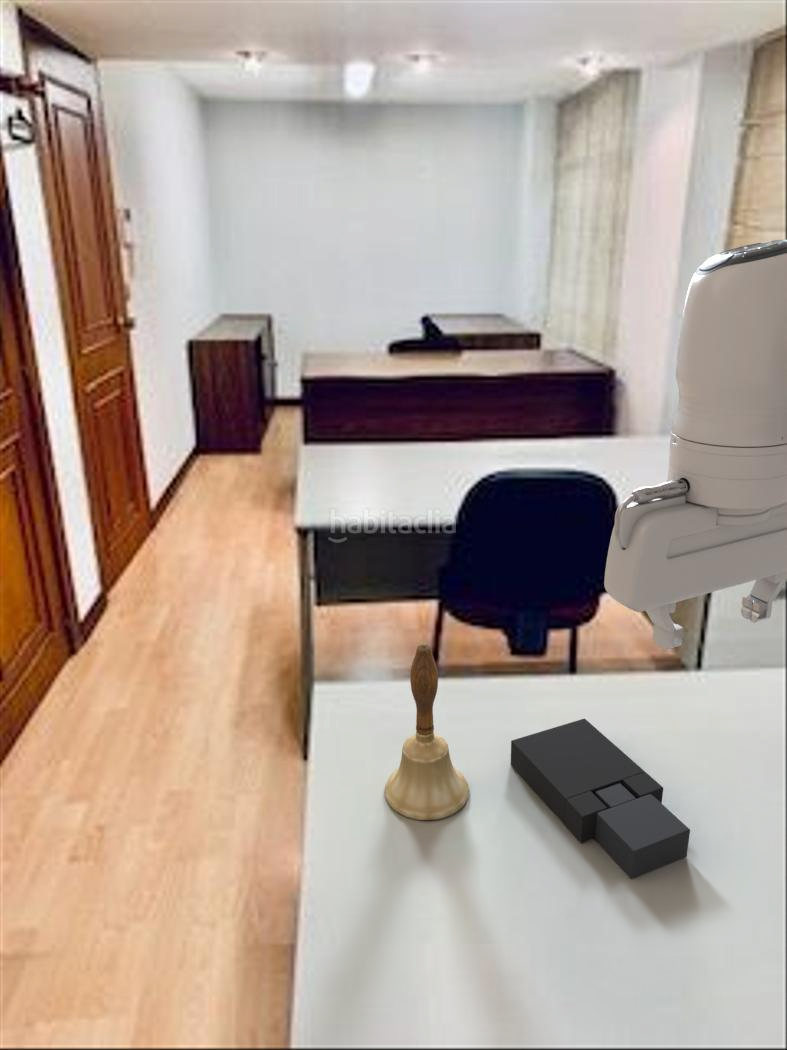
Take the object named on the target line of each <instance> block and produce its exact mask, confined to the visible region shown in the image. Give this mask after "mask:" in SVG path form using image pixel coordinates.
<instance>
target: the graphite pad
mask: <svg viewBox="0 0 787 1050" xmlns="http://www.w3.org/2000/svg"><path fill="white" fill-rule="evenodd" d="M595 796H596V797H597V798H598V799H599V800H600V801H601V802H602V803H603V804H604V805H605V806H606V807H607V810H604V811H601V812H598V813H597V816H596V829H595V838H594V841H595V842H596V843H597V844H598V845H599V846H600V847H601V849H602V850H604V852H605V853H606V854H607V855H608V856H609V857H610V858H611V859H612V860H613V861H614V862H615V863H616V865H618V867H619V868H620V869H621V870H622V871H623V872H624V873H625V874H626V875H627V876H628V877H629V879H631V880H632V879H634V878H637V877H640V876H642V875H644V874H648V873H650V872H652V871H654V870H657V869H660V868H663V867H665V866H668V865H670V864H672V863H675V862H678V861H679V860H682V859H685V858H687V856H688V849H689V843H690V836H691V835H690V834H691V829H690V828H689V827H688V826H687V825H686V824H684V823H683V821H681V819H679V818H678V817H677V816H676V815H675V814H674V813H673V812H672V811H670V810H669V809H668V808H667V807H666V806H665V805H664V804H663V803H662V804H661V803H660V802H659V801H658V800H657V799H656V798H655V797H654V796H653V795H651V794H649V795H646V796H643V797H640V798H638V799H636V798H635V797H634V796H633V795H632V794H631V793H630V792H629V791H628V790H627V789H626V788H624V787H623V786H622V785H621V784H617V785H614V786H611V787H608V788H605V789H602V790H599V791H597V792H596V793H595Z"/></svg>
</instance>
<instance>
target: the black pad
mask: <svg viewBox="0 0 787 1050" xmlns="http://www.w3.org/2000/svg"><path fill="white" fill-rule="evenodd" d="M510 766H511V767H512V768H513V770H514V771H516V773H517V774H518V775H519V776H520V777H521V778H522V779H523V781H524V782H525V783H526V784H527V785H528V786H529V787H530V788H531V790H532V791H533V792H534V793H535V794H536V795H537V796H538V798H540V800H541V801H542V802H543V803H544V804H545V805H546V806H547V807H548V809H549V810H550V811H551V812H552V813H553V814H554V815H555V817H557V819H558V820H559V821H560V822H561V823H562V824H563V825H564V827H565V828H566V829H567V830H568V831H569V832H570V833H571V834H572V836H573V837H574V838H575V839H576V840H577V841H578V842H579V843H580V844H583V843H586V842H588V841H591V840H593V839H595V829H596V816H597V813H598V812H601V811H604V810H607V807H606V806H605V805H604V804H603V803H602V802H601V801H600V800H599V799H598V798H597V797H596V796H595V793H596V792H597V791H599V790H602V789H605V788H608V787H611V786H614V785H617V784H621V785H622V786H623V787H624V788H626V789H627V790H628V791H629V792H630V793H631V794H632V795H633V796H634V797H635V798H636V799H638V798H640V797H643V796H646V795H649V794H651V795H653V796H654V797H655V798H656V799H657V800H658V801H659V802H660V803H661V804H662V805H663V803H662V802H663V795H664V786H662V785H661V784H660V783H659V782H658V781H657V780H656V779H654V778H653V777H652V776H651V775H650V774H649V773H647V772H646V770H644V769H643V768H641V766H640V765H638V763H636V762H635V761H634V760H632V758H630V756H628V755H627V754H626V753H624V751H622V750H621V749H620V748H619V747H618V746H617V745H616V744H614V743H613V742H612V741H611V740H610V739H609V738H607V736H605V735H604V734H603V733H602V732H601V731H600V730H598V728H597V727H596V726H594V725H593V724H592V723H590V722H589V720H587V719H586V718H580V719H577V720H574V721H572V722H571V721H570V722H568V723H565V724H562V725H558V726H554V727H551V728H548V729H545V730H542V731H538V732H535V733H532V734H529V735H526V736H522V737H518V738H515V739H512V740H511V741H510Z"/></svg>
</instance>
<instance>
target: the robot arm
mask: <svg viewBox="0 0 787 1050" xmlns="http://www.w3.org/2000/svg"><path fill="white" fill-rule="evenodd" d="M680 323H681V324H680V328H679V329H680V330H679V337H678V345H677V355H676V365H675V366H676V367H675V379H676V383H677V386H678V397H679V398H678V405H677V409H676V412H675V415H674V417H673V420H672V423H671V429H670V441H669V451H668V464H667V466H668V467H667V479H666V482H663V483H660V484H658V485H653V486H642V487H639V488H636V489H633V491H632V492H631V495H630V496H628V497H627V498H626V499H625V500H624V501H623V502H622V503H621V505H619V506H618V507H617V508H616V511H615V515H614V525H613V528H612V531H611V536H610V541H609V545H608V551H607V556H606V562H605V571H604V581H603V584H604V589H605V592H606V593H607V594H608V595H609V596H610V597H611V598H612V599H613V600H614V601H616V602H617V603H619V604H620V605H622V606H624V607H626V608H627V609H629V610H630V611H633V612H634V613H635V612H636V613H641V612H646V614H647V616H648V618H649V619H650V621H651V623H652V624H653V627H652V641H653V643H654V644H655V645H656V646H658V647H659V648H661V649H662V650H664V651H667V650H669V649H673V648H676V647H680V646H681V645H682V644H683V636H684V627H683V626H682V625H680V624H678V623H675V621H673V620H672V617H671V615H670V614H673V613H675V612H676V608H677V603H678V602H681V601H685V600H688V599H693V598H696V597H700V596H703V595H707V594H710V593H713V592H717V591H722V590H724V589H728V588H733V587H736V586H739V585H743V584H747V583H750V582H753V581H755V582H754V584H753V586H752V589H751V591H750V593H749V594H748V595H746V596H745V595H744V596H742V600H741V605H742V607H741V609H740V613H741V616H742V617H743V618H744V619H746V620H750V622H752V623H758V622H761V621H765V620H768V619H770V618H771V616H772V608H773V603H774V602H775V600H776V598H777V597H778V596H779V593H780V592H781V590H782V589H783V587H784V586H785V584H786V583H787V239H777V240H771V241H767V242H758V243H751V244H748V245H742V246H739V247H735V248H731V249H728V250H724V251H722V252H720V253H718V254H715V255H713V256H710V257H709V258H708V259H706V260H705V261H704V262H703V263H702V264H701V265H699V267H697V269H696V270H695V272H694V273H693V276H692V278H691V281H690V283H689V286H688V290H687V293H686V297H685V302H684V307H683V312H682V317H681V322H680Z"/></svg>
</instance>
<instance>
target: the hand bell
mask: <svg viewBox="0 0 787 1050" xmlns="http://www.w3.org/2000/svg"><path fill="white" fill-rule="evenodd" d="M431 648H432V647H431V646H430V645H428V644H424V643H423V644H419V645H417V647H416V650H415V655H414V658H413V660H412V663H411V665H410V666H411V667H410V675H409V676H410V689H411V694H412V697H413V700H414V702H415V707H416V717H415V720H416V722H415V723H416V724H415V733H414V734H413V735H410V736H409V737H408V738H406V740H405V741H404V742H403V744H402V747H401V757H400V763H399V766H398V768H397V769H395V770H394V771H393V772H392V773H391V775H390V776H389V778H388V779H387V780H386V783H385V786H384V797H385V800H386V803H388V805H389V806H390V808H391V809H392V810H394V811H395V812H396V813H397V814H399V815H402V816H403V817H406V818H409V819H413V820H417V821H431V820H432V821H433V820H434V821H435V820H440V819H445V818H447V817H450V816H452V815H454V814H456V813H457V812H458V811H459V810H461V809H462V808H463V807H464V806H465V805H466V803H467V801H468V799H469V795H470V788H469V784H468V781H467V779H466V778H465V776H464V775H463V773H461V772H460V771H459V770H458V769H457V768H456V767H454V765H453V762H452V760H451V756H450V749H449V743H448V742H447V741H446V740H445V738H444V737H442V736H441V735H439V734H436V733H435V732H434V731H435V725H434V702H435V699H436V696H437V692H438V686H439V670H438V666H437V663H436V660H435V658H434V655H433V653H432V649H431Z"/></svg>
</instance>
